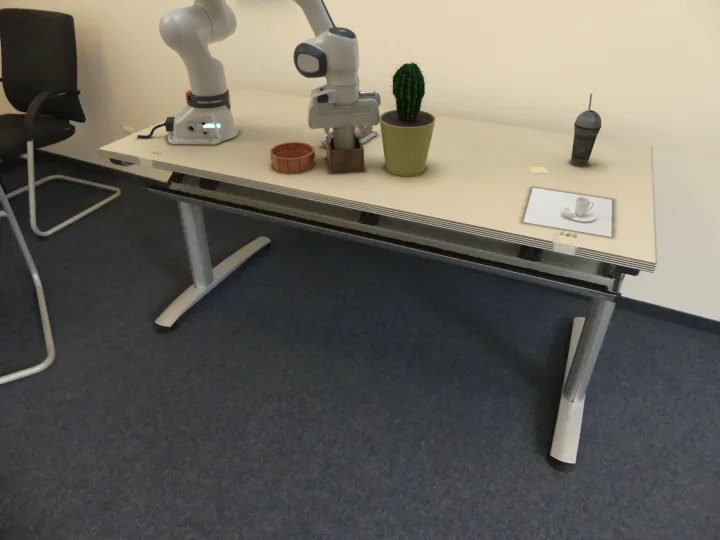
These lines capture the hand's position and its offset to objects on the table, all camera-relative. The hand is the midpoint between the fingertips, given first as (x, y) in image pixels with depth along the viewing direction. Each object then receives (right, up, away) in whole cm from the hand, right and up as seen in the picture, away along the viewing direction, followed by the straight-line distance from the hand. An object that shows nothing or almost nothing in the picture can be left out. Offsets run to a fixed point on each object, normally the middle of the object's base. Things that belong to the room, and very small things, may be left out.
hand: (344, 141), depth 159 cm
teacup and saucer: (+57, -22, -20) cm, 64 cm away
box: (0, -5, +3) cm, 6 cm away
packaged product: (+1, +4, +19) cm, 20 cm away
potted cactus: (+18, -7, +2) cm, 19 cm away
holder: (0, -6, +4) cm, 7 cm away
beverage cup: (+69, -6, +4) cm, 69 cm away
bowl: (-15, -6, +4) cm, 17 cm away
